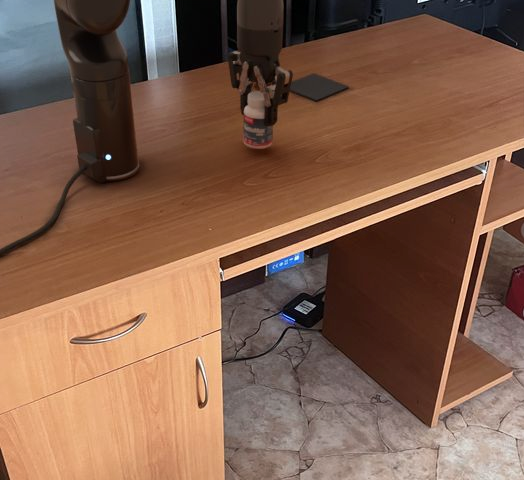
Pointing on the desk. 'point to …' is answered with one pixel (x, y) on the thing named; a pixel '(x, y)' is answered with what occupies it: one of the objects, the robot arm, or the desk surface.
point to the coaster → (316, 87)
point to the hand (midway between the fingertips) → (258, 119)
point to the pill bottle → (256, 123)
